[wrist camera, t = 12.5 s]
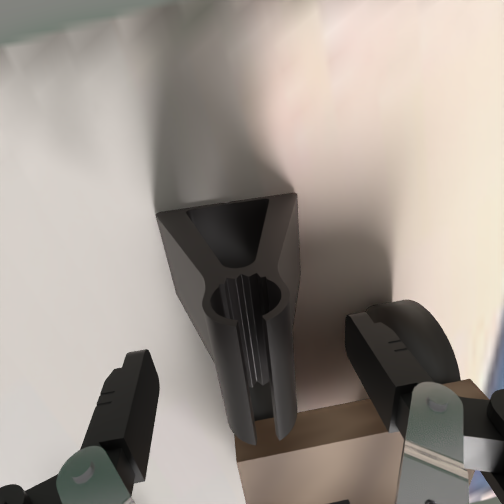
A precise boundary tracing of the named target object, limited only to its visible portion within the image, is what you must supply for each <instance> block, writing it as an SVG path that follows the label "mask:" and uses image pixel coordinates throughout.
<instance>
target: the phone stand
mask: <svg viewBox="0 0 504 504" xmlns="http://www.w3.org/2000/svg"><path fill="white" fill-rule="evenodd" d="M156 218H157V222H158V226H159V230H160V233H161V237H162V241H163V245H164V249H165V252H166V256H167V260H168V264H169V267H170V271H171V275H172V279H173V283H174V286H175V290H176V294H177V296H178V298H179V300H180V301H181V303H182V305H183V307H184V309H185V310H186V312H187V314H188V316H189V318H190V319H191V321H192V323H193V325H194V327H195V329H196V330H197V332H198V334H199V336H200V338H201V339H202V341H203V343H204V345H205V347H206V348H207V350H208V352H209V354H210V356H211V357H212V359H213V361H214V363H215V365H216V370H217V374H218V379H219V383H220V388H221V392H222V397H223V401H224V406H225V410H226V415H227V419H228V423H229V426H230V428H231V430H232V432H233V433H234V434H235V435H236V436H237V437H238V438H239V439H240V440H242V441H244V442H246V443H248V444H251V445H256V443H257V433H256V427H255V421H254V415H253V409H252V403H251V396H250V390H249V387H253V386H254V385H255V383H256V382H259V383H260V384H261V385H264V384H266V383H267V382H269V381H270V388H271V397H272V405H273V414H274V422H275V431H276V436H277V437H278V439H279V441H280V440H282V439H283V438H284V437H286V436H287V435H288V434H289V433H290V431H291V430H292V428H293V427H294V425H295V422H296V418H297V399H296V384H295V368H294V352H293V337H292V329H293V322H294V316H295V309H296V302H297V295H298V289H299V282H300V275H301V271H300V248H299V225H298V201H297V194H296V193H288V194H281V195H274V196H267V197H260V198H254V199H247V200H240V201H233V202H230V203H219V204H212V205H205V206H198V207H192V208H185V209H178V210H171V211H164V212H159V213H157V214H156Z"/></svg>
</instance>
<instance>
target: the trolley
mask: <svg viewBox="0 0 504 504" xmlns="http://www.w3.org/2000/svg"><path fill="white" fill-rule="evenodd" d="M366 313H367V314H368V315H369V317H370V318H371V319H372V321H373V322H374V323H380V322H381V323H383V324H384V325H386V326H388V327H389V328H391V329H392V330H393V331H394V332H395V333H396V335H397V336H398V337H399V338H400V340H401V342H403V343H404V345H405V346H406V347H407V350H409V351H410V352H411V354H412V355H413V356H414V357H415V359H416V360H417V361H418V362H419V364H420V365H421V366H422V368H423V369H424V370H425V371H426V373H427V374H428V375H429V376H430V378H431V379H432V380H433V381H434V382H435V383H438V384H441V385H444V386H446V387H447V388H449V389H451V390H452V391H453V392H454V393H455V394H456V395H457V396H460V397H465V398H475V399H484V400H489V399H488V398H487V397H486V396H485V394H484V393H483V392H482V391H481V390H480V389H479V388H478V387H477V386H476V385H475V384H474V383H473V382H472V380H471V379H467V380H462V381H461V380H460V373H459V369H458V364H457V361H456V358H455V355H454V352H453V349H452V347H451V345H450V343H449V340H448V338H447V336H446V335H445V333H444V331H443V329H442V328H441V326H440V325H439V323H438V322H437V321H436V319H435V318H434V317H433V316H432V314H431V313H430V312H429V311H428V310H427V309H425V308H424V307H423V306H422V305H420V304H419V303H417V302H415V301H412V300H402V301H396V302H390V303H385V304H379V305H374V306H370V307H369V308H368V309H367V310H366ZM249 390H250V396H251V403H252V409H253V415H254V421H255V427H256V433H257V443H256V445H251V444H248V443H246V442H244V441H242V440H240V439H239V438H238V437H237V436H236V435H235V434H234V436H235V448H236V460H237V466H238V470H239V475H240V479H241V483H242V488H243V492H244V496H245V500H246V504H328V503H333V502H338V501H342V500H347V499H349V502H350V504H394V501H395V495H396V488H397V482H398V475H399V469H400V462H401V455H402V449H403V443H404V439H403V437H402V435H401V433H400V432H394V433H388V431H387V429H386V427H385V425H384V423H383V421H382V420H381V418H380V416H379V414H378V412H377V410H376V408H375V407H374V405H373V403H372V401H371V399H365V400H360V401H355V402H350V403H345V404H340V405H335V406H329V407H324V408H319V409H314V410H309V411H304V412H299V413H297V418H296V422H295V425H294V427H293V428H292V430H291V431H290V433H289V434H288V435H287V436H286V437H284V438H283V439H282V440H280V441H279V439H278V437H277V436H276V431H275V422H274V414H273V405H272V397H271V388H270V381H269V382H267V383H266V384H264V385H261V384H260V383H259V382H256V383H255V385H254V386H253V387H249ZM464 469H465V468H464ZM466 470H467V472H468V479H469V485H470V482H471V480H472V477H473V474H474V472H475V470H472V469H466Z"/></svg>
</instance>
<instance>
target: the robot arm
mask: <svg viewBox="0 0 504 504" xmlns="http://www.w3.org/2000/svg"><path fill="white" fill-rule="evenodd" d="M345 349H346V353H347V356H348V358H349V360H350V362H351V364H352V366H353V367H354V369H355V371H356V373H357V375H358V377H359V379H360V380H361V382H362V384H363V386H364V388H365V390H366V392H367V394H368V395H369V397H370V399H371V401H372V403H373V405H374V407H375V408H376V410H377V412H378V414H379V416H380V418H381V420H382V421H383V423H384V425H385V427H386V429H387V431H388V433H394V432H400V433H401V435H402V437H403V439H404V443H403V449H402V455H401V462H400V469H399V475H398V482H397V488H396V495H395V501H394V504H469V479H468V472H467V470H466V469H472V470H479V471H480V472H481V473H482V475H483V476H484V478H485V479H486V481H487V482H488V484H489V485H490V487H491V488H492V490H493V491H494V493H495V494H496V496H497V497H498V499H499V500H500V502H501V503H502V504H504V389H501V390H497V391H495V392H494V393H493V394H492V396H491V399H490V400H484V399H475V398H465V397H460V396H457V395H456V394H455V393H454V392H453V391H452V390H451V389H449V388H447V387H446V386H444V385H441V384H438V383H435V382H434V381H433V380H432V379H431V378H430V376H429V375H428V374H427V373H426V371H425V370H424V369H423V368H422V366H421V365H420V364H419V362H418V361H417V360H416V359H415V357H414V356H413V355H412V354H411V352H410V351H409V350H407V347H406V346H405V345H404V343H403V342H401V340H400V338H399V337H398V336H397V335H396V333H395V332H394V331H393V330H392V329H391V328H389V327H388V326H386V325H384V324H383V323H381V322H380V323H374V322H373V321H372V319H371V318H370V317H369V315H368V314H367V313H366V312H361V313H356V314H350V315H347V316H346V320H345ZM159 388H160V387H159V378H158V374H157V372H156V369H155V366H154V363H153V360H152V358H151V355H150V352H149V350H147V349H146V350H140V351H135V352H129V353H127V355H126V357H125V360H124V363H123V366H122V368H117V369H114V370H113V371H112V373H111V374H110V375H109V377H108V378H107V379H106V380H105V382H104V385H103V388H102V391H101V396H99V399H98V402H97V407H95V410H94V413H93V416H92V419H91V421H90V424H89V427H88V430H87V432H86V435H85V438H84V441H83V444H82V446H81V449H80V450H79V451H78V452H76V453H75V454H74V455H72V456H71V457H70V458H69V459H68V460H67V461H66V462H65V464H64V465H63V466H62V468H61V470H60V472H59V474H57V475H56V476H54V477H52V478H50V479H48V480H46V481H44V482H42V483H40V484H38V485H36V486H34V487H32V488H30V489H28V490H26V491H24V490H23V489H22V487H20V486H19V485H16V484H11V485H6V486H3V487H1V488H0V504H135V502H134V501H133V499H132V497H131V496H132V490H133V485H134V483H138V482H143V481H145V477H146V471H147V465H148V459H149V453H150V447H151V440H152V434H153V428H154V422H155V416H156V410H157V404H158V397H159ZM464 468H465V469H464ZM328 504H350V502H349V499H347V500H342V501H338V502H333V503H328Z"/></svg>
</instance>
